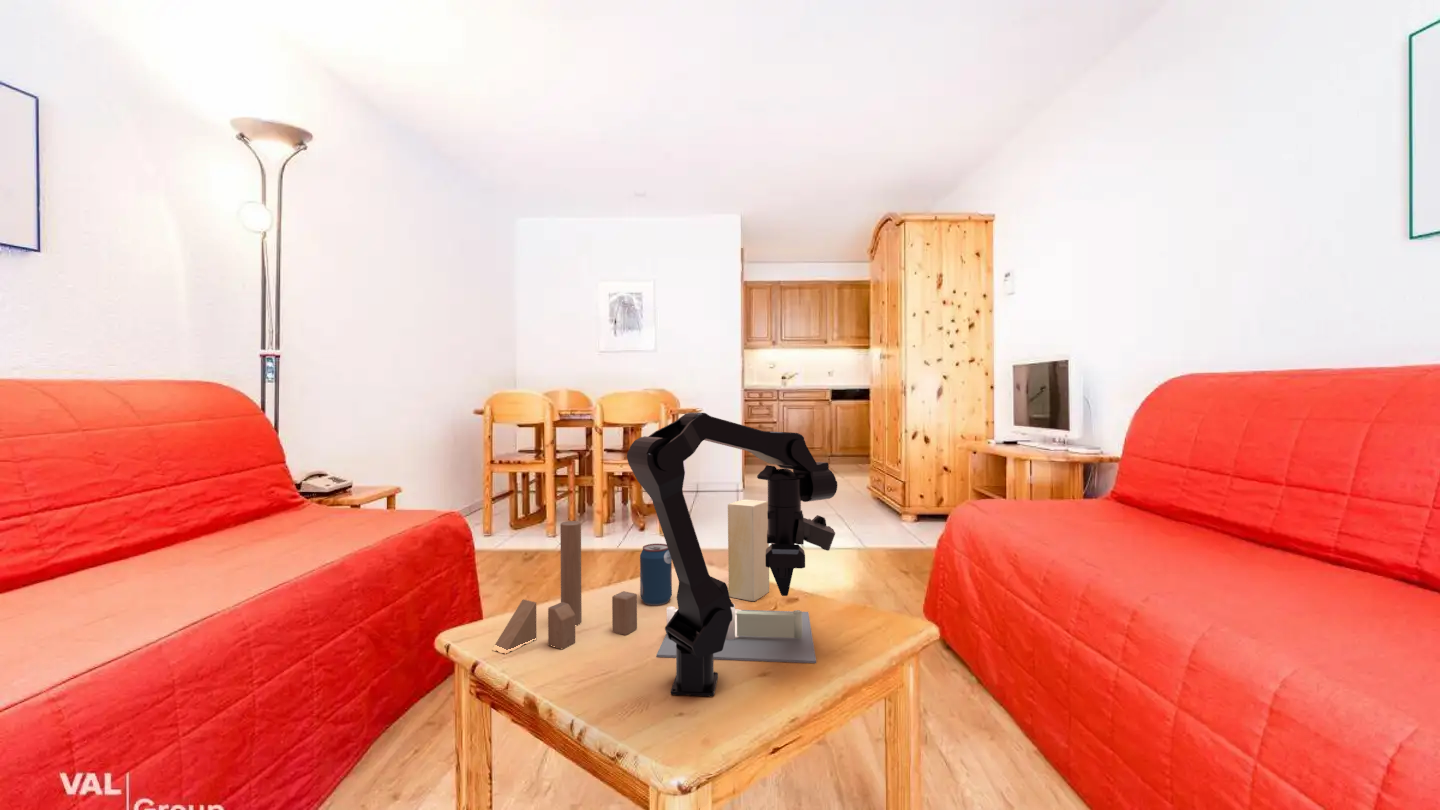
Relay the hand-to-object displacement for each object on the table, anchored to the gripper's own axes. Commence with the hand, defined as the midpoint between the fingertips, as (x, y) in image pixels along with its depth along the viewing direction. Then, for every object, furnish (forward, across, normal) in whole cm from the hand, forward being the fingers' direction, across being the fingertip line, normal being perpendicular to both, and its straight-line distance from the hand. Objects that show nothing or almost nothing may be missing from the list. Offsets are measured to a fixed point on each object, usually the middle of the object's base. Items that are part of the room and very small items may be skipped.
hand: (784, 595), depth 94 cm
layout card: (+10, +8, +8) cm, 15 cm away
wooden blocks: (+11, +3, +40) cm, 41 cm away
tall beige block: (+10, +30, +8) cm, 33 cm away
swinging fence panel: (+9, +5, +3) cm, 11 cm away
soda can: (+10, +24, +28) cm, 38 cm away
